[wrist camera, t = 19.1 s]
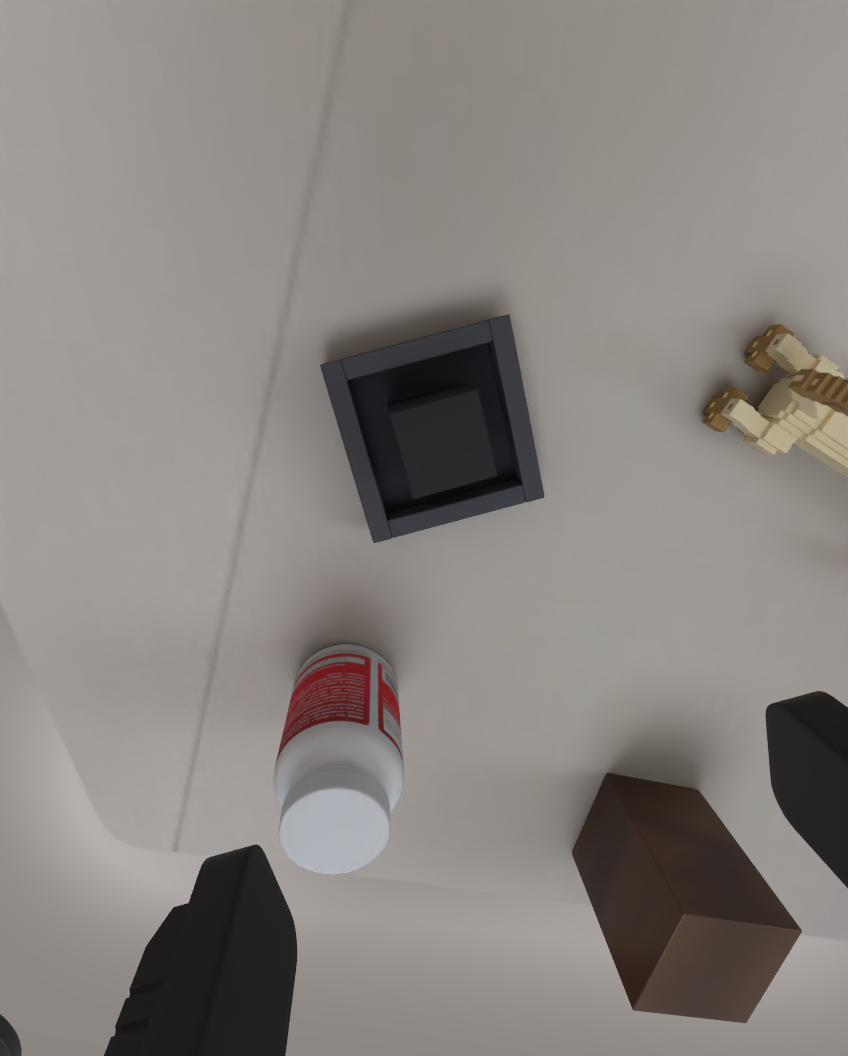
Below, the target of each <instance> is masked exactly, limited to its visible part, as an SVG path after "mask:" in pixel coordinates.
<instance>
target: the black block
mask: <svg viewBox="0 0 848 1056" xmlns="http://www.w3.org/2000/svg"><path fill="white" fill-rule="evenodd" d="M388 411H389V415H390V419H391V422H392V426H393V429H394V433H395V437H396V440H397V444H398V447H399V451H400V454H401V458H402V462H403V465H404V469H405V472H406V476H407V479H408V483H409V487H410V490H411V494H412V497H413V499H416V498H420V497H424V496H427V495H431V494H434V493H438V492H442V491H445V490H449V489H452V488H456V487H460V486H463V485H467V484H470V483H474V482H478V481H481V480H485V479H488V478H492V477H496V476H497V471H496V466H495V462H494V458H493V453H492V449H491V444H490V440H489V436H488V431H487V427H486V422H485V418H484V414H483V409H482V405H481V400H480V396H479V392H478V389H475V388H473V387H470V386H467V385H465V384H459V385H455V386H452V387H448V388H444V389H441V390H437V391H434V392H430V393H426V394H423V395H419V396H416V397H412V398H408V399H405V400H401V401H398V402H394V403H390V404H388Z"/></svg>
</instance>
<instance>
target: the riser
mask: <svg viewBox="0 0 848 1056" xmlns="http://www.w3.org/2000/svg"><path fill="white" fill-rule="evenodd" d="M572 855H573V858H574V860H575V863H576V865H577V868H578V870H579V873H580V876H581V878H582V881H583V883H584V886H585V888H586V891H587V894H588V896H589V899H590V901H591V904H592V906H593V909H594V911H595V914H596V916H597V919H598V922H599V924H600V927H601V929H602V932H603V935H604V937H605V939H606V942H607V945H608V947H609V950H610V953H611V955H612V958H613V960H614V962H615V965H616V968H617V970H618V973H619V975H620V978H621V981H622V983H623V986H624V988H625V991H626V994H627V996H628V999H629V1001H630V1003H631V1006H632V1009H633V1010H635V1011H644V1012H652V1013H662V1014H671V1015H679V1016H687V1017H697V1018H705V1019H715V1020H723V1021H732V1022H740V1023H746V1022H747V1021H748V1019H749V1018H750V1016H751V1014H752V1013H753V1011H754V1009H755V1008H756V1006H757V1004H758V1003H759V1001H760V1000H761V998H762V996H763V995H764V993H765V991H766V990H767V988H768V986H769V985H770V983H771V981H772V980H773V978H774V977H775V975H776V973H777V972H778V970H779V968H780V967H781V965H782V963H783V962H784V960H785V958H786V957H787V955H788V954H789V952H790V950H791V949H792V947H793V945H794V944H795V942H796V940H797V939H798V937H799V936H800V934H801V932H802V930H801V929H800V927H799V926H798V925H797V923H796V922H795V921H794V919H793V918H792V916H791V915H790V914H789V912H788V911H787V910H786V908H785V907H784V906H783V904H782V903H781V901H780V900H779V899H778V897H777V896H776V895H775V893H774V892H773V891H772V889H771V888H770V887H769V885H768V884H767V882H766V881H765V880H764V878H763V877H762V876H761V874H760V873H759V872H758V870H757V869H756V867H755V866H754V865H753V863H752V862H751V861H750V859H749V858H748V857H747V855H746V854H745V852H744V851H743V850H742V848H741V847H740V846H739V844H738V843H737V842H736V840H735V839H734V837H733V836H732V835H731V833H730V832H729V831H728V829H727V828H726V827H725V825H724V824H723V823H722V821H721V820H720V818H719V817H718V816H717V814H716V813H715V812H714V810H713V809H712V808H711V806H710V805H709V803H708V802H707V801H706V799H705V798H704V797H703V795H702V794H701V793H700V791H699V790H695V789H689V788H684V787H679V786H673V785H668V784H662V783H657V782H652V781H646V780H641V779H635V778H630V777H624V776H619V775H614V774H607V775H606V777H605V779H604V781H603V784H602V786H601V788H600V790H599V793H598V795H597V797H596V800H595V802H594V804H593V806H592V809H591V811H590V813H589V815H588V818H587V820H586V822H585V825H584V827H583V829H582V831H581V834H580V836H579V838H578V840H577V843H576V845H575V847H574V850H573V852H572Z"/></svg>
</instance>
